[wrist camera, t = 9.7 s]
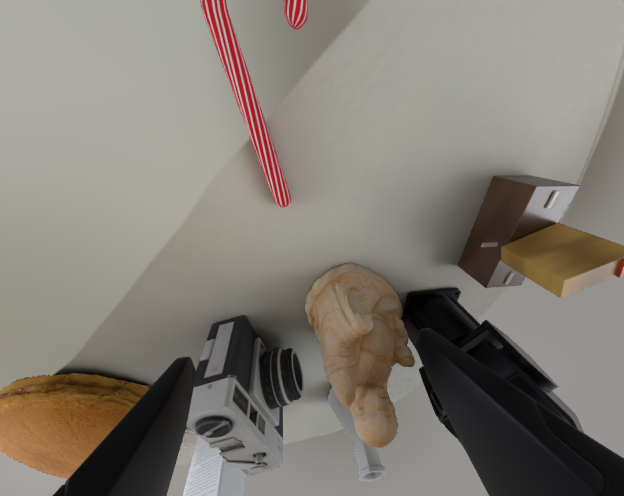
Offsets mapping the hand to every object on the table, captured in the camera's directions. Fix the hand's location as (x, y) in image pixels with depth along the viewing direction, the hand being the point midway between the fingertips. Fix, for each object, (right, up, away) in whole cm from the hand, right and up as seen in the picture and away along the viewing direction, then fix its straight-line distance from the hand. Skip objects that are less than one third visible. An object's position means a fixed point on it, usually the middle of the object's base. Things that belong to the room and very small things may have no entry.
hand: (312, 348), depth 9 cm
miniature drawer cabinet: (+19, +6, +15) cm, 25 cm away
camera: (-6, -9, +20) cm, 23 cm away
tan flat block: (+19, +4, +11) cm, 23 cm away
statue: (+5, -3, +18) cm, 19 cm away
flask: (+6, -18, +27) cm, 33 cm away
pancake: (-30, -13, +23) cm, 40 cm away
